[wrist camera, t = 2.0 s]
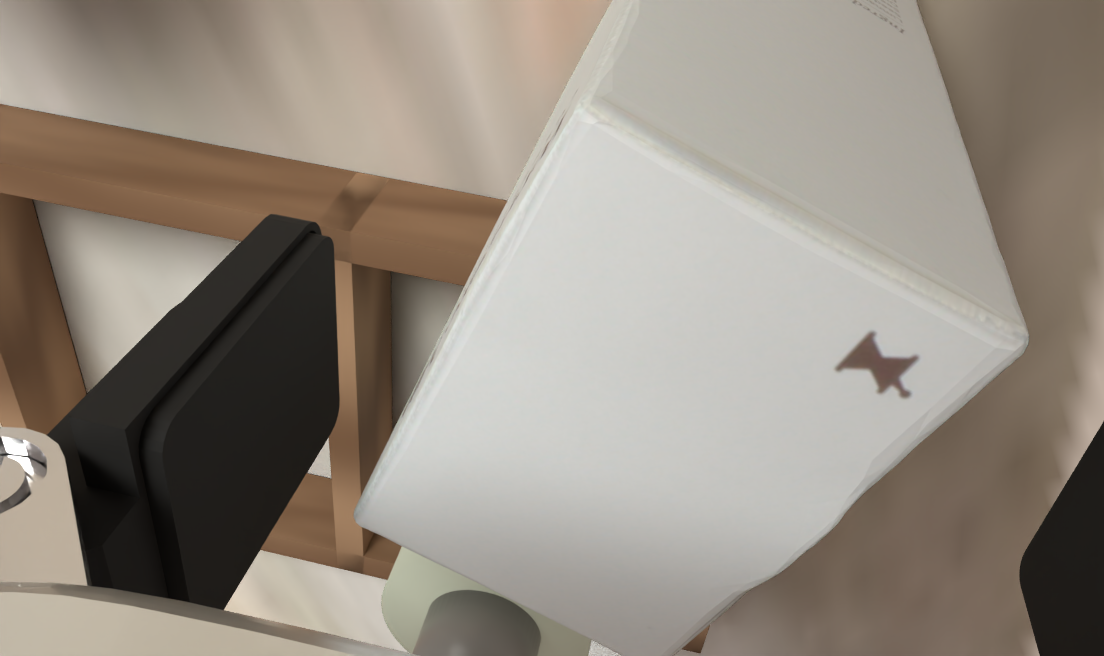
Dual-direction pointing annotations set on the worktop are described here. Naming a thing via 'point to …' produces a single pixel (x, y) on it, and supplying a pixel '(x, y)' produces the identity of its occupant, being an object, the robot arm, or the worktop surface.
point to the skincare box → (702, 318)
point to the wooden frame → (233, 212)
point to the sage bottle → (465, 616)
